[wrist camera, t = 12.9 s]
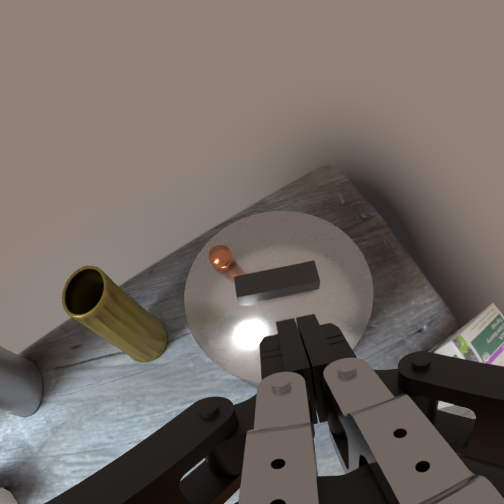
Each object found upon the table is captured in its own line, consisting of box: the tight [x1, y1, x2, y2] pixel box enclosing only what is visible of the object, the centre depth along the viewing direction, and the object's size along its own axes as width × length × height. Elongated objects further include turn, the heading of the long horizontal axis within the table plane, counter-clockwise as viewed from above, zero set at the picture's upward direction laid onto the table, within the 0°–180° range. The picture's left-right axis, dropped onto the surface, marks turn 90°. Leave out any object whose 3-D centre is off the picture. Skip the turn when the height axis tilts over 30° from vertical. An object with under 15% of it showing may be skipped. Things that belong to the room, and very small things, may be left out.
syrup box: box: [428, 303, 504, 409], centre depth 24 cm, size 6×6×14 cm
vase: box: [62, 266, 167, 362], centre depth 32 cm, size 6×6×14 cm
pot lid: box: [184, 211, 374, 384], centre depth 28 cm, size 17×17×3 cm
